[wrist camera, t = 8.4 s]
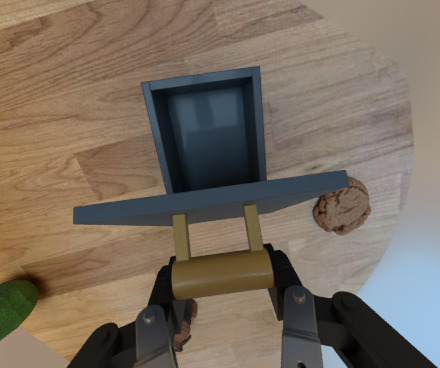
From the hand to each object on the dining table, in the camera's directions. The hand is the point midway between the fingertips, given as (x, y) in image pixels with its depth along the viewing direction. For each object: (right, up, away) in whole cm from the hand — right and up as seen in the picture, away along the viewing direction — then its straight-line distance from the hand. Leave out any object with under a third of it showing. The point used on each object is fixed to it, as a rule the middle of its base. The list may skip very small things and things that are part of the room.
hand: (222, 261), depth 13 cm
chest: (-1, +12, +19) cm, 23 cm away
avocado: (-38, -15, +27) cm, 48 cm away
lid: (0, +3, +5) cm, 6 cm away
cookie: (+22, +1, +24) cm, 32 cm away
